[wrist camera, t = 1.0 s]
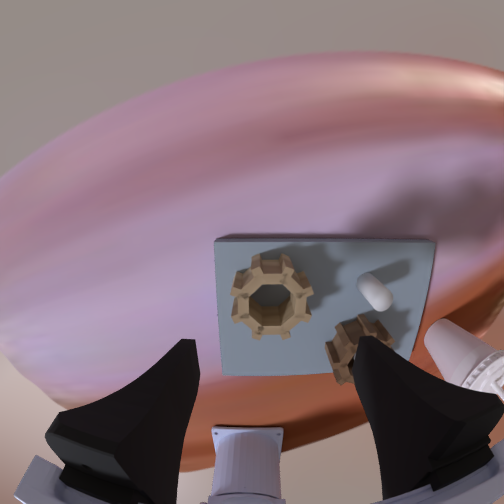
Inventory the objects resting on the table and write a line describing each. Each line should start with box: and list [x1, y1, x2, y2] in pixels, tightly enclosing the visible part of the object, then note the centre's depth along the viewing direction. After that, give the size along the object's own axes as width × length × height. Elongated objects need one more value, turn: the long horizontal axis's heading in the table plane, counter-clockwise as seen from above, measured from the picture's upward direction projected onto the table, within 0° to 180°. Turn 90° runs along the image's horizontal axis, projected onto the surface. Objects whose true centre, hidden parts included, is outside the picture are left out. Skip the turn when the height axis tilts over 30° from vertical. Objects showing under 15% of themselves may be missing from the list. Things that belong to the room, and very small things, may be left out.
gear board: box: [214, 238, 435, 376], centre depth 20 cm, size 12×18×5 cm, turn 90°
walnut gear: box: [325, 314, 395, 385], centre depth 20 cm, size 5×5×3 cm
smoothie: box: [424, 319, 504, 401], centre depth 16 cm, size 6×6×14 cm
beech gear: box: [230, 253, 314, 341], centre depth 19 cm, size 5×5×3 cm
